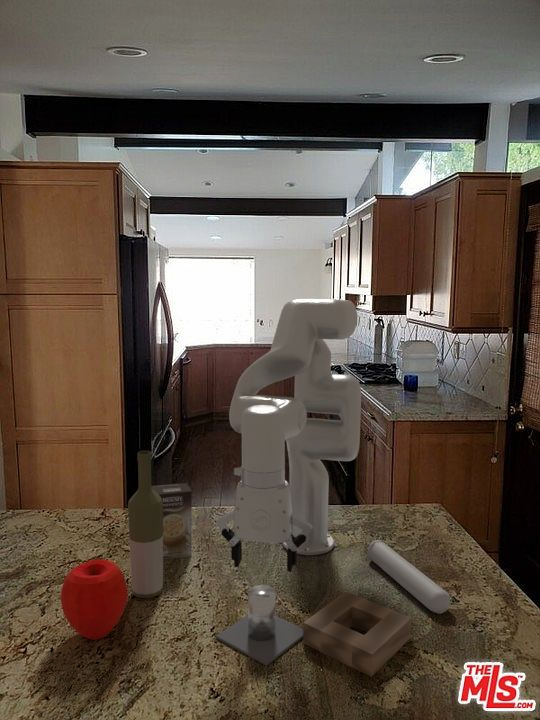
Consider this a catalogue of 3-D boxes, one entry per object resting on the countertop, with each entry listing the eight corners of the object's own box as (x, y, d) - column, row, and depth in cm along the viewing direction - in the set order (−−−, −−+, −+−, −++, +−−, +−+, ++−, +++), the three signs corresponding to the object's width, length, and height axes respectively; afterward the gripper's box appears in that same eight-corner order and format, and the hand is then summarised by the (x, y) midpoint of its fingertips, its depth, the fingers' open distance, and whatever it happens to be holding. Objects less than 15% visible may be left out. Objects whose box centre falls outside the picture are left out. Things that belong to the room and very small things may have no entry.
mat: (215, 638, 107) (215, 635, 107) (259, 610, 116) (259, 607, 116) (266, 665, 100) (266, 663, 100) (308, 633, 109) (308, 631, 109)
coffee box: (153, 562, 136) (151, 495, 134) (149, 550, 142) (148, 485, 140) (192, 556, 139) (191, 490, 137) (187, 544, 145) (186, 481, 143)
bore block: (303, 643, 106) (303, 622, 105) (345, 610, 116) (345, 591, 116) (371, 677, 97) (372, 654, 96) (410, 638, 108) (411, 617, 107)
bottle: (171, 588, 124) (169, 450, 120) (151, 604, 118) (148, 459, 114) (143, 581, 127) (140, 445, 123) (122, 596, 121) (119, 454, 117)
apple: (76, 613, 115) (73, 548, 113) (136, 615, 114) (134, 549, 113) (51, 651, 103) (48, 579, 101) (118, 653, 103) (116, 581, 101)
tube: (459, 595, 115) (389, 541, 139) (438, 591, 113) (370, 537, 136) (451, 620, 116) (382, 562, 139) (429, 617, 114) (363, 559, 137)
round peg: (242, 634, 108) (242, 593, 107) (259, 622, 111) (260, 582, 110) (263, 644, 105) (263, 602, 103) (280, 631, 108) (281, 591, 107)
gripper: (210, 480, 102) (212, 572, 105) (310, 486, 99) (309, 581, 102) (221, 465, 109) (222, 552, 112) (314, 471, 106) (313, 559, 109)
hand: (264, 565), depth 107 cm, fingers open, 9 cm apart
